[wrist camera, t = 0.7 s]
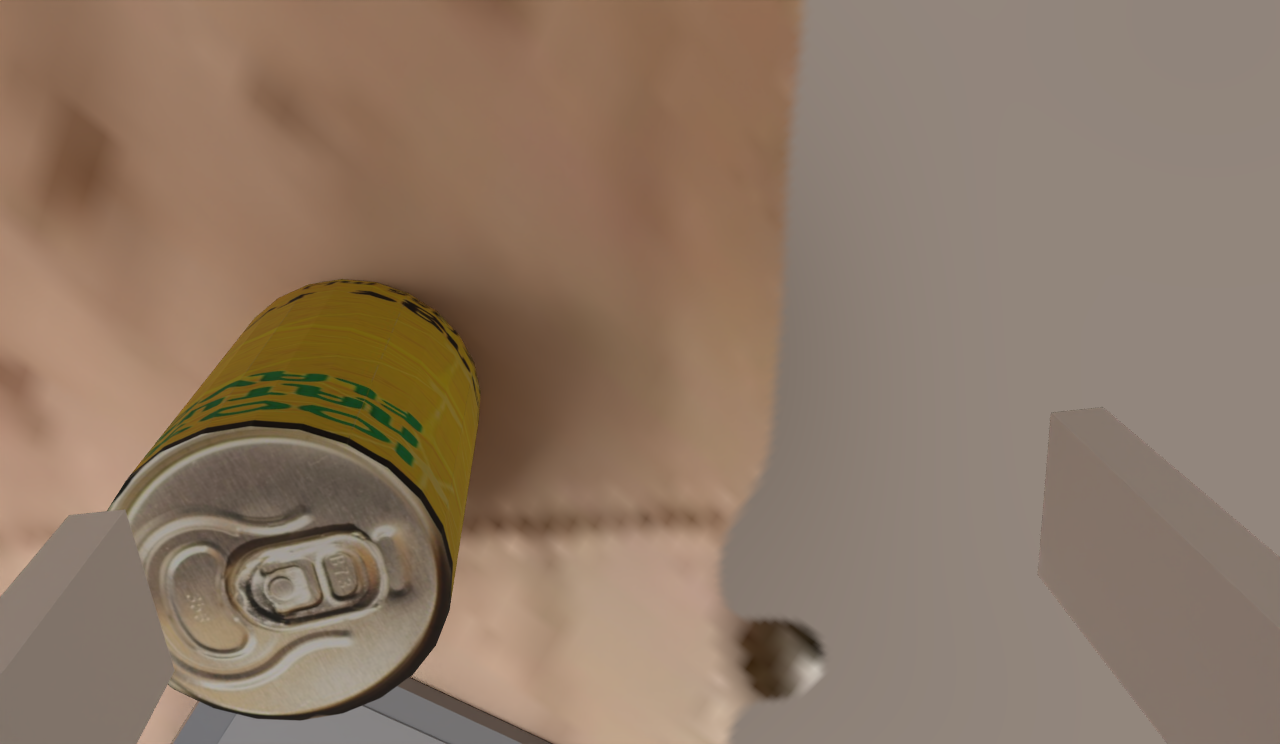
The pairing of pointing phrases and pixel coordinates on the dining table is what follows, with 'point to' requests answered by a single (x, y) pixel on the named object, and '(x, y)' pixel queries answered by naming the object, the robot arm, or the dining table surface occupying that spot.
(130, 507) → the beverage can
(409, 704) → the plate
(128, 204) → the dining table surface
